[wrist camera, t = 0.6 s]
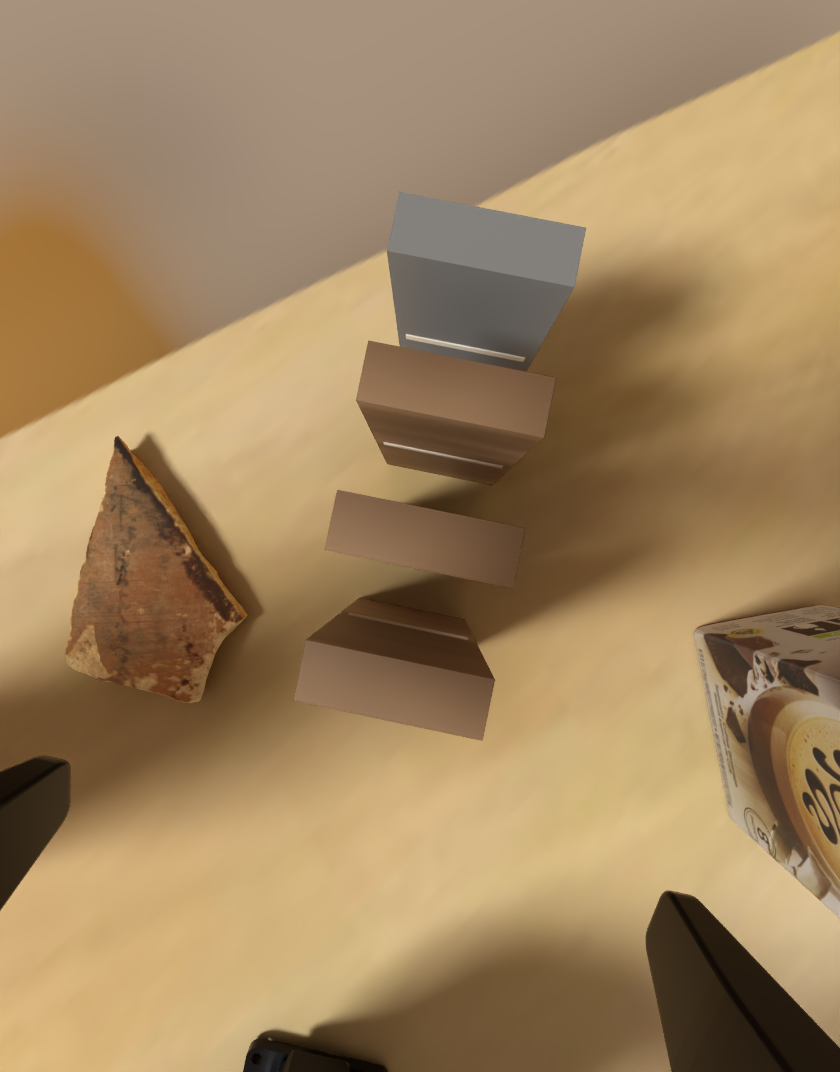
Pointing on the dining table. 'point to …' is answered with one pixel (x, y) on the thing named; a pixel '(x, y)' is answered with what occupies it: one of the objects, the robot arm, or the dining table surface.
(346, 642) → the domino
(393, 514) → the domino
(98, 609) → the shard
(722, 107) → the dining table surface
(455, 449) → the domino
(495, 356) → the domino
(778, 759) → the coffee box
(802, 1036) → the robot arm
